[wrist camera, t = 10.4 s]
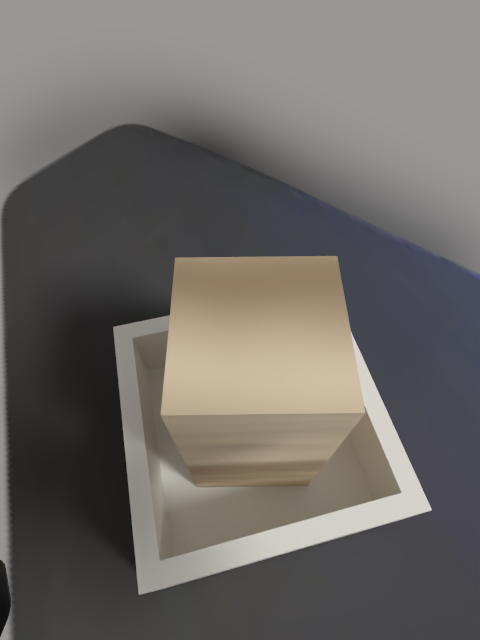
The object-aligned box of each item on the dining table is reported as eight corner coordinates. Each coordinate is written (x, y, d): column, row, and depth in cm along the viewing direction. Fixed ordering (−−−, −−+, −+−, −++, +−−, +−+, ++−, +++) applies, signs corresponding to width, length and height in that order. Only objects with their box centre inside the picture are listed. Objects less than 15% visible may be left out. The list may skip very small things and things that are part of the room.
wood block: (307, 485, 18) (365, 412, 10) (197, 487, 18) (160, 415, 10) (298, 383, 21) (336, 256, 12) (202, 384, 21) (175, 257, 12)
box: (395, 521, 18) (431, 510, 15) (159, 589, 17) (138, 594, 13) (315, 324, 23) (328, 282, 20) (132, 364, 22) (113, 326, 19)
